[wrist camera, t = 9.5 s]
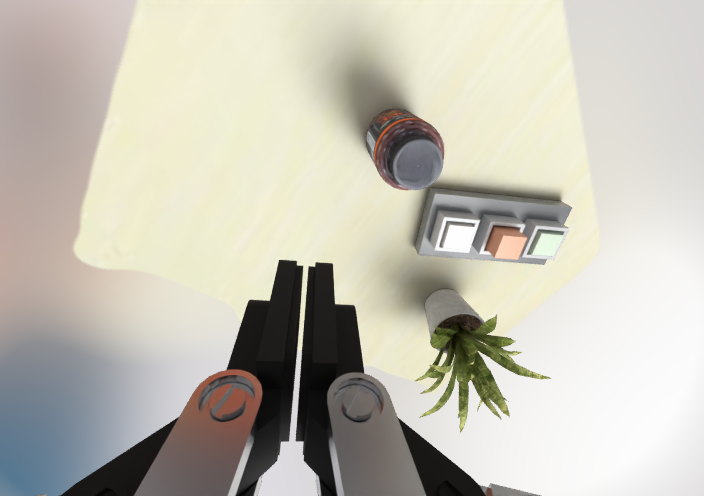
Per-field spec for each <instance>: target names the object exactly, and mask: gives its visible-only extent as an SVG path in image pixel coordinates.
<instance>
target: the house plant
mask: <svg viewBox="0 0 704 496" xmlns="http://www.w3.org/2000/svg"><path fill="white" fill-rule="evenodd" d="M425 310H426V315H427V321H428V327H429V332H430V338H431V341H430V343H431V346H432V347H433V348H436V349H437V350H439V351H440V352H439V355H438V356H437V358H436V360H435V362H434V363H433V365H430V366H431V367H430V369H429V370H428V371H427V372H426V374H425V375H424V376H422V377H420V378H418V379H417V380H416V381H418V380H422V379H425V378H427V377H430V378H438V377H439V378H438V379H437V381H436V382H435V383H434V384H433V386H432V387H431V388H429V389H428V390H425V391H424V392H422V393H427V392H430V391H432V390H434V389H435V388H437V387H438V386H439V384H440V383H441V382H442V380H443V378H444V376H445V373H447V372H449V371H450V370H451V368H452V366H453V365H454V366H453V371H452V375H451V378H450V381H449V384H448V387H447V389H446V391H445V393H444V394H443V396H442V397H441V398H440V400H439V401H438V402H437V404H436V405H435V406H434V407H433V408H432V409H431V410H429V411H427V412H426V413H424V414H423V415H422V416H420V417H423V416H426V415H429V414H431V413H434V412H435V411H437V410H439V409H440V408H441V407H442V406H443V405H444V404H445V403H446V402H447V400H448V399H449V397H450V395H451V393H452V391H453V389H454V384H455V379H456V374H457V380H458V382H459V414H458V416H459V417H460V432H461V431H462V429H463V427H464V425H465V422H466V418H467V412H468V392H469V390H468V389H469V388H468V382H469V380H472V382H473V385H474V386H475V389H476V391H477V393H478V395H479V396H480V398H481V401H480V404H479V407H480V405H481V403H482V401H483V402H484V403H485V404H486V406H487V407H488V408H489V409H490V410H491V411H492V412H493V413H494V414H495V415H496V416H498V417H499V418H501V417H500V416H499V414H498V412H497V411H496V409H495V408H494V406H493V405H492V403H491V402H490V400H489V399H491V400H492V401H493V402H494V403H495V404H496V405H498V407H499V408H500V410H501V411H502V412H503V413H504V414H506V415H507V416H509V412H508V408H507V405H506V403H505V401H504V400H506V399H505V398H503V396H502V394H501V392H500V390H499V389H498V387H497V384H496V382H495V380H494V378H493V375H492V374H491V371H490V370H489V369H488V368H487V366H486V364H485V362H484V360H483V359H482V357H481V356H480V354H479V353H478V351H480V352H481V353H483V354H485V355H486V356H488V357H490V358H491V359H492V360H494V361H495V362H497V363H498V364H499V365H501V366H502V367H504V368H506V369H508V370H509V371H512V372H514V373H516V374H518V375H522V376H526V377H532V378H537V379H547V378H549V377H546V376H543V375H540V374H537V373H535V372H532V371H529V370H527V369H525V368H523V367H521V366H519V365H517V364H515V363H513V362H514V361H513V360H512V358H511V357H509V356H508V355H517V354H519V353H521V352H517V351H512V352H510V351H506V350H503V348H501V347H504V346H508V345H511V344H512V343H514V342H515V341H514V340H512V339H511V338H507V337H499V336H491V335H487V334H488V333H490V332H492V331H493V330H494V329H495V327H496V321H497V315H496V317H494V318H492V319H490V320H488V321H486V322H485V323H484V321H483V320H482V318H481V317H480V316H479V315H478V314H477V313H476V312H475V311H474V310H473V309H472V308H471V307H470V306H469V305H468V303H467V302H466V301H465V300H464V299H463V298H462V297H461V296H460V295H459V294H458V293H457V292H456V291H454V290H450V289H440V290H437V291H435V292H433V293H432V294H431V295H430V296H429V297H428V298H427V300H426V302H425ZM480 341H481V342H483V343H485V344H487V345H488V346H487V345H485V344H483V343H481V342H480ZM489 346H490V347H489ZM443 353H447V358H446V360H445V362H444V364H443V365H442V366H441V367H440V366H438V364H439V361H440V359H441V357H442V354H443ZM499 353H500V354H502V355H503V356H502V355H500V354H499ZM454 354H455V358H454ZM453 358H454V362H453V364H452V366H450V365H451V363H452V360H453ZM434 370H436V371H434ZM433 371H434V372H433ZM422 393H421V394H422ZM479 407H478V409H479Z"/></svg>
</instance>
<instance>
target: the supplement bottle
mask: <svg viewBox="0 0 704 496" xmlns="http://www.w3.org/2000/svg"><path fill="white" fill-rule="evenodd" d="M366 145H367V149H368V152H369V154H370V156H371V158H372V160H373V162H374V164H375V166H376V168H377V170H378V172H379V174H380V176H381V177H382V178H383V180H384V181H385V182H386V183H388V184H389V185H391V186H392V187H394V188H397V189H401V190H421V189H424V188H426V187H428V186H430V185H431V184H433V183H434V182H435V181H436V180H437V178H438V177H439V175H440V173H441V171H442V168H443V159H444V145H443V141H442V138H441V136H440V134H439V133H438V132H437V130H436V129H435V128H434V127H433V126H432V125H430V124H429V123H427V122H425V121H424V120H422V119H420V118H418V117H416V116H415V115H413V114H411V113H409V112H407V111H405V110H400V109H390V110H386V111H384V112H382V113H380V114H379V115H378V116H377V117H375V118H374V120H373V121H372V122H371V124H370V126H369V127H368V131H367V134H366Z"/></svg>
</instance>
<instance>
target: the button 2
mask: <svg viewBox="0 0 704 496" xmlns="http://www.w3.org/2000/svg"><path fill="white" fill-rule="evenodd" d="M526 240H527V237H526V236H525V235H523V234H522V233H521V232H520V231H519V230H517V229H516V228H513V227H502V226H493V227H492V230H491V232H490V235H489V238H488V240H487V243H486V246H485V248H486V249H487V250H488V251H489V252H490V253H491V255H492V256H493V257H494V258H502V259H515V260H518V258H519V256H520V253H521V251H522V249H523V247H524V244H525V242H526Z"/></svg>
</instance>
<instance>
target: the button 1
mask: <svg viewBox="0 0 704 496" xmlns="http://www.w3.org/2000/svg"><path fill="white" fill-rule="evenodd" d="M473 229H474V227H473V226H472V225H471V224H470V223H466V222H455V221H446V225H445V228H444V231H443V235H442V238H441V242H440V244H441V245H442V247H443V248H454V249H466V250H467V247H468V244H469V241H470V238H471V235H472V232H473Z"/></svg>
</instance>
